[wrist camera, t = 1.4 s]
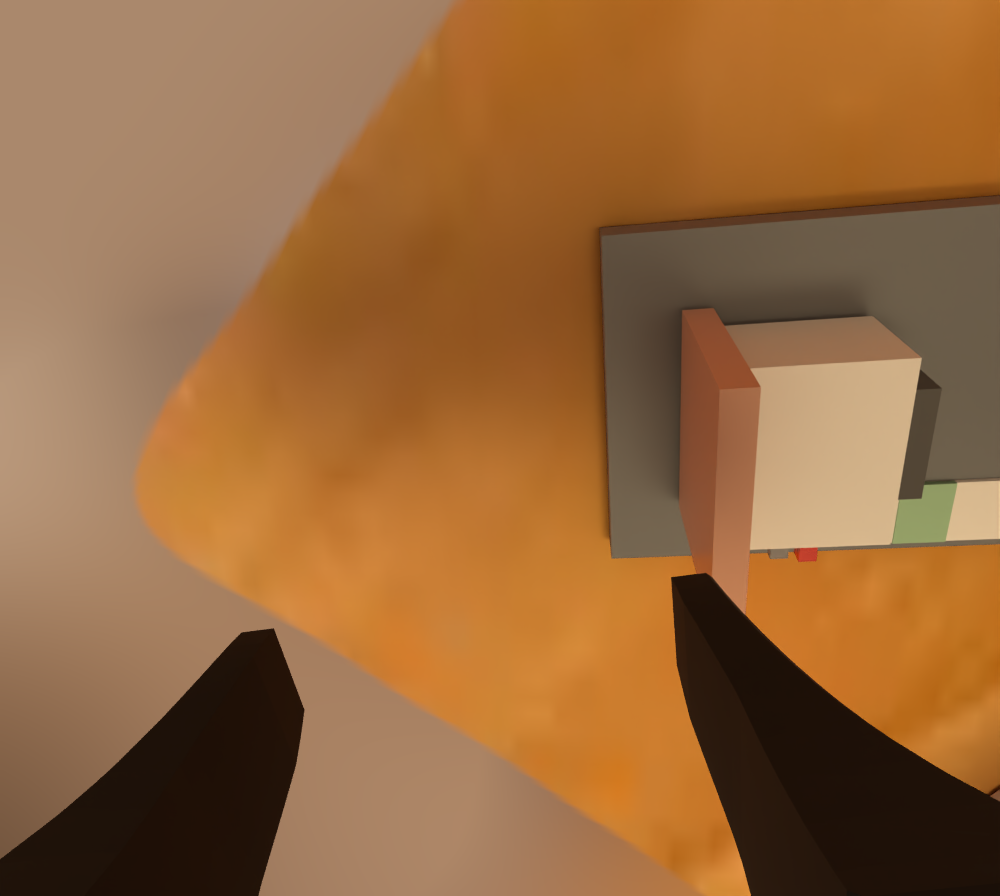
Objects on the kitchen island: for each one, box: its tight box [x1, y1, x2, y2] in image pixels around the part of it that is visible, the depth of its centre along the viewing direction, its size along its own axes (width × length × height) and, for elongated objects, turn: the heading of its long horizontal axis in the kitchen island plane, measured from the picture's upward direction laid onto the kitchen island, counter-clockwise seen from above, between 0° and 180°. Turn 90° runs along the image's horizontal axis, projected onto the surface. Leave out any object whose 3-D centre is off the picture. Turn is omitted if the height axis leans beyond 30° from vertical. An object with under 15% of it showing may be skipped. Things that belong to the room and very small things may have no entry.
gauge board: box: [600, 195, 1000, 558], centre depth 19 cm, size 16×10×6 cm, turn 95°
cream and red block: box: [679, 308, 942, 614], centre depth 19 cm, size 6×8×5 cm
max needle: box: [794, 547, 818, 562], centre depth 22 cm, size 1×2×1 cm, turn 6°
